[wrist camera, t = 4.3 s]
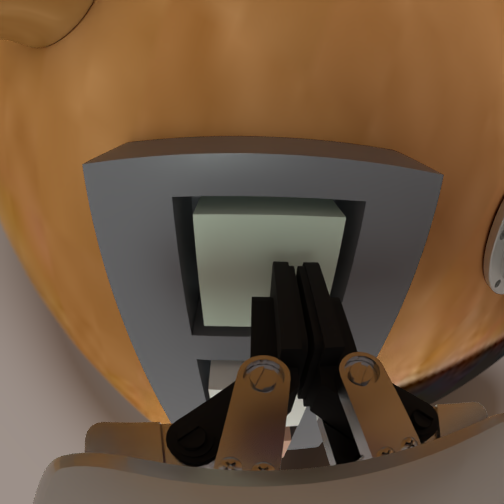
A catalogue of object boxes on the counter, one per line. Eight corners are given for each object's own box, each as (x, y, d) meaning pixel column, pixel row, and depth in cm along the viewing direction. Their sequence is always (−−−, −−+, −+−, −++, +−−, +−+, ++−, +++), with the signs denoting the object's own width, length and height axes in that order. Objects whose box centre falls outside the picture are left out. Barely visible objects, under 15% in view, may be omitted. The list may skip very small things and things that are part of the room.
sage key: (325, 191, 12) (346, 217, 10) (310, 286, 15) (322, 324, 13) (204, 188, 12) (192, 214, 10) (210, 286, 15) (204, 325, 13)
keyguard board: (394, 150, 13) (446, 176, 9) (312, 413, 27) (318, 448, 23) (127, 142, 12) (79, 165, 8) (190, 414, 27) (186, 449, 23)
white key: (306, 346, 16) (314, 387, 13) (293, 391, 19) (298, 425, 16) (212, 346, 16) (208, 389, 13) (218, 392, 18) (216, 427, 16)
